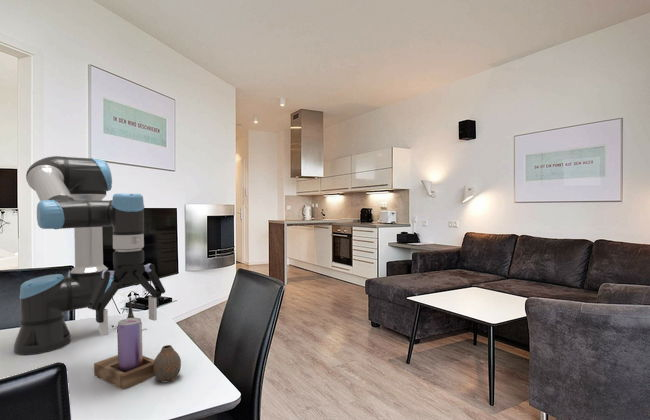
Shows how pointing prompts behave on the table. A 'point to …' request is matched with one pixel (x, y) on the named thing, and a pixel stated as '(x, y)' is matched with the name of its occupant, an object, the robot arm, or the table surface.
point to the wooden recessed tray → (112, 375)
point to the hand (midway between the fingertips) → (129, 326)
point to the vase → (167, 364)
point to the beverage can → (129, 344)
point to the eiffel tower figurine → (130, 314)
